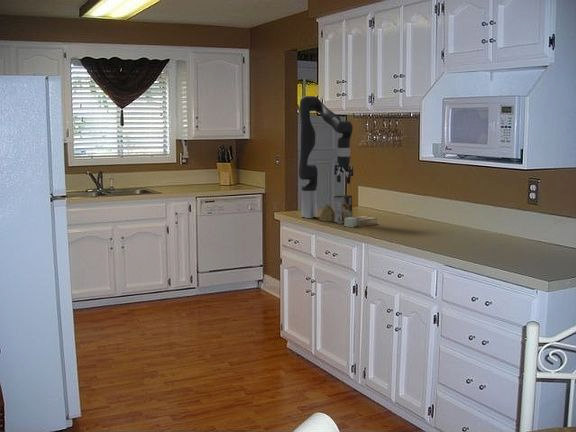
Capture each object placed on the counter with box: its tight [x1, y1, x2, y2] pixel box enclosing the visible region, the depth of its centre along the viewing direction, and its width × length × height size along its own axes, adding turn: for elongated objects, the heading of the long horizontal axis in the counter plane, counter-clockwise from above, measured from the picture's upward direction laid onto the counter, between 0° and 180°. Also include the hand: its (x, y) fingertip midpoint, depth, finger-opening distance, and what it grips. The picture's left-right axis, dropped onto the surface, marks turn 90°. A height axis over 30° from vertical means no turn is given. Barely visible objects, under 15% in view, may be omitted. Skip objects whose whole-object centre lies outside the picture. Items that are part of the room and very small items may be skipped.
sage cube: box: [343, 216, 358, 228], centre depth 382 cm, size 5×5×5 cm
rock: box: [318, 204, 335, 222], centre depth 404 cm, size 11×9×10 cm
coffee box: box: [333, 194, 353, 224], centre depth 396 cm, size 9×6×16 cm
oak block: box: [352, 215, 378, 227], centre depth 390 cm, size 12×12×4 cm
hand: (343, 182), depth 394 cm, fingers open, 8 cm apart
